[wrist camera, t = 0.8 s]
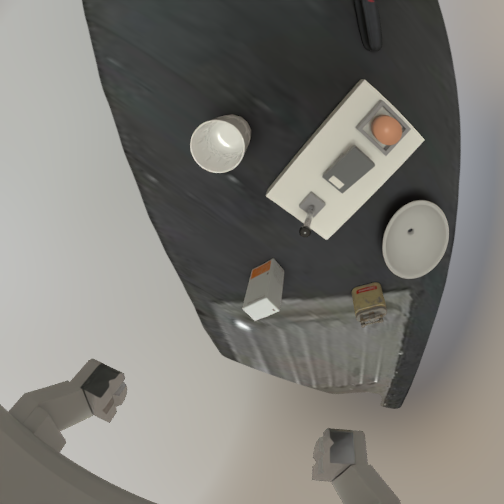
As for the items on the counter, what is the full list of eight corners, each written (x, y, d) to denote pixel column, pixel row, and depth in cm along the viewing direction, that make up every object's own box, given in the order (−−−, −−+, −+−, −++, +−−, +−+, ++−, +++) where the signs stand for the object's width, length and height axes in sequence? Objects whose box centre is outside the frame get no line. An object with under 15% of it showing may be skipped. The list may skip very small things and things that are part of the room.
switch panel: (360, 79, 36) (367, 79, 32) (418, 135, 39) (428, 142, 36) (267, 189, 50) (264, 199, 47) (325, 231, 53) (327, 245, 50)
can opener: (333, -37, 24) (338, -49, 19) (374, -33, 22) (383, -44, 18) (348, 50, 34) (355, 47, 29) (389, 53, 32) (400, 51, 28)
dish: (373, 195, 47) (379, 207, 43) (440, 184, 43) (451, 195, 39) (378, 269, 57) (383, 284, 53) (436, 257, 52) (444, 272, 48)
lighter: (380, 280, 58) (388, 312, 50) (381, 291, 60) (390, 324, 52) (350, 287, 61) (355, 321, 53) (353, 299, 63) (357, 332, 55)
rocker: (354, 144, 38) (354, 147, 37) (374, 163, 39) (375, 166, 38) (322, 174, 43) (322, 177, 43) (342, 190, 44) (342, 194, 44)
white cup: (209, 110, 43) (189, 119, 35) (256, 112, 42) (245, 121, 34) (209, 153, 48) (190, 171, 40) (253, 156, 47) (243, 175, 39)
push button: (382, 108, 35) (387, 110, 33) (402, 128, 36) (407, 131, 34) (365, 128, 37) (369, 131, 35) (385, 147, 38) (389, 151, 36)
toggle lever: (311, 201, 45) (302, 229, 41) (319, 207, 46) (312, 236, 42) (304, 206, 47) (295, 235, 43) (312, 212, 47) (304, 241, 43)
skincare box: (273, 256, 59) (267, 297, 49) (284, 270, 60) (281, 311, 51) (250, 268, 62) (241, 309, 52) (262, 281, 63) (255, 322, 54)
